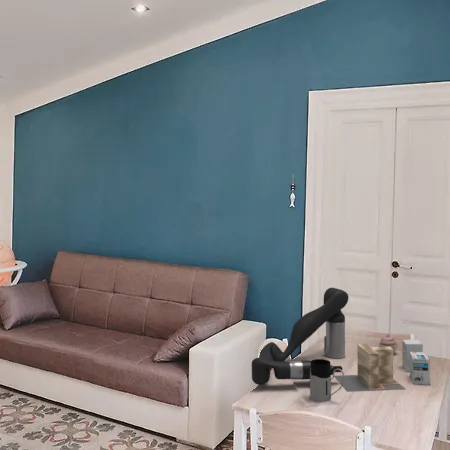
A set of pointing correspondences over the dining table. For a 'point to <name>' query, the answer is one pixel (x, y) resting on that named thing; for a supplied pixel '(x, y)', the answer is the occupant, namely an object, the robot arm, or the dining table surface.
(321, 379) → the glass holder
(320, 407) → the dining table surface
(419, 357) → the light bulb box
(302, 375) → the robot arm
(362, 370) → the maple T block
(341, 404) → the dining table surface
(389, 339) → the cupcake
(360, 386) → the charcoal board
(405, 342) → the supplement box
